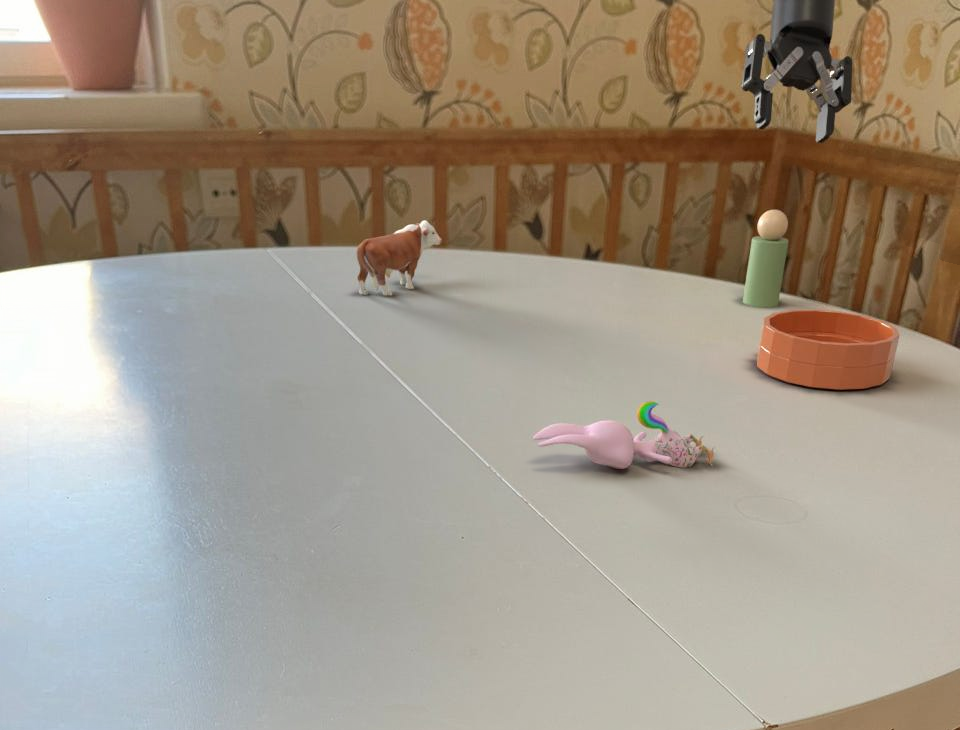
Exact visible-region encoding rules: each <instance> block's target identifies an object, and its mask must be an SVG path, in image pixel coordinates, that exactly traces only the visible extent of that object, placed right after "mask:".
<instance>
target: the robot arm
mask: <svg viewBox="0 0 960 730" xmlns="http://www.w3.org/2000/svg"><path fill="white" fill-rule="evenodd" d="M835 4H836V0H772V6H771V7H772V8H771V9H772V10H771V20H770V21H771V23H770V35H769V41H767V40H766V37H765V35H764V34H763V33H758V34H757V35H756V36H754V38H753V39H752V40H751V41H749V43H748V44H747V45H746V48H745V56H744V63H743V71H742V76H741V77H742V78H741V79H742V80H741V89H742V91H744V92H750V93H751V94H752V95H753V97H754V100H755V101H754V112H753V120H754V121H753V122H754V124H756V129H757V130H758V129H759V130H764V129H765V128H767V127H768V126H769V125H770V124H771V122H772V111H773V99H774V98H773V97H774V93H773V92H771V91H772V89H773V88H774V87H776V86H777V84H778V83H779V82H780V83H781V86H782V87H786V88H791V87H792V88H795V89H796V90H798V91H802V92H804V91H805V92H806V94H807V96H808V98H809V99H810V100H811V101H813V102H814V104H815V105H816V108H817V110H818V111H819V113H817V119H816V131H815V142H816V143H820V144H823V143H824V142H826V141H827V140H828V139H830V137H831V136H832V135H833V133H834V132H835V122H836V114H837V113H839V112H841V111H842V110H843V109H844V108H845V107H847V106H848V105H850V104H851V103H852V92H853V90H852V88H853V86H852V85H853V59H852V57H851V56H848V55H847V56H845V57H843V58H842V59H840V58H835V57H832V54H831V52H830V45H831V42H832V38H833V32H834V17H835V7H836V5H835ZM766 56H767V59H768V61H769V64H770V66H771V68H772V70H771V72H770V73H769V74H768V75H767V76H766V77H765V78H764V79H763V78H761V76H762V68H763V59H764V58H765V57H766ZM828 71H829V72H830V73H829V72H828ZM818 82H819V84H820V85H819V87H817V86H816V83H818Z"/></svg>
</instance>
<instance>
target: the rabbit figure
mask: <svg viewBox="0 0 960 730" xmlns="http://www.w3.org/2000/svg"><path fill="white" fill-rule="evenodd" d="M658 405H660V403H657V402H656V401H653V400H651V401H650V400H649V401H646V402H644V403H642V404H640V406H639V407H638V409H637V411H636V417H637V421H638V422H639V424H641V426H643V427H644V428H646V429H650V430H651V429H652V430H657V429H658V430H661V431H660V433H658V434H657V436H656V437H655V438H653V439H651V440H650V439H649V440H643V439H645V438H647V432H645V431H640V432H639V433H638V434H637V435H636V436H635V437H634V436H633V434H632V432H631V430H630V429H629V428H628V427H627V426H626V425H625V424H623V423H622V422H619V421H615V420H608V419H607V420H605V419H604V420H600V421H596V422H593V423H591V424H588V425H579V424H575V423H567V422H561V423H560V422H559V423H552V424H550V425H547V426H546V427H544V428H542V429H541V430H539V431H538V432H536V434H534V436H533V437H532V440H533V441H539V440H543V441H541V442H539V443H537V446H538V447H539V448H541V447H543V448H544V447H549V446H553V445H559V444H560V445H561V444H565V445H573V446H576V447H580V448H583V449H584V452H585V454H586V456H587V458H589V460H590V461H592V463H594V464H596V465H604V466H606V467H608V468H612V469H616V470H623V469H627V468H628V467H630V465H631V464H632V462H633V459H634V456H636V457H639V458H640V459H641V460H643V461H644V462H647V463H653V462H655V461H657V462H660V463H662V464H664V465H666V466H671V467H674V468H680V469H681V468H683V469H684V468H690V467H692V466H693V465H694V463H695V462H696V460H697V459H698V457H699V456H700V455H702V452H704V453H706V455H707V457H706V460H705V461H706V465H707V466H708V465H709V466H713V464H712V463H713V460H714V459H713V458H714V449H715V448H716V446H713V447H712V448H711V449H708V448H707V447H706V445H704V444H703V442H702V439H703V438H704V435H701V436H700V438H699V439H697V438H696V436H694V435H693V434H691V433H690V434H688V435H686V436H681V435H680V434H679V432H677V431H675V430H673V429H671V428H670V427H669V425H668V424H667V422H666V421H665V419H663V418H662V417H661V416H659V415H655V414H653V413H652V411H653V409H654V408H655V407H657V406H658ZM692 442H693V443H695V446H692V445H691V443H692Z"/></svg>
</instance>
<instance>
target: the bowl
mask: <svg viewBox="0 0 960 730" xmlns="http://www.w3.org/2000/svg"><path fill="white" fill-rule="evenodd" d="M900 336H901V335H900V333H899V330H898V328H897V327H896V326H893V325H892V324H890V323H889V322H886V321H885V320H881V319H877V318H874V317H872V316H871V317H870V316H867V315H864V314H859V313H852V312H847V311H839V310H828V309H827V310H826V309H816V308H815V309H813V308H812V309H788V310H782V311H778V312H773V313H771V314H769V315H767V316H765V317H764V318H763V320H762V327H761V333H760V338H759V344H758V345H759V346H758V350H757V358H756V367H757V368H758V369H759V370H761V371H762V372H763V373H764V374H766V375H768V376H770V377H773V378H775V379H778V380H781V381H783V382H786V383H790V384H794V385H800V386H804V387H809V388H816V389H829V390H839V391H840V390H865V389H869V388H872V387H877V386H882V385H883V384H884V383H886V382H887V381H888V380H890V378H891V375H892V370H893V366H894V362H895V357H896V353H897V350H898V349H897V348H898V344H899V340H900Z"/></svg>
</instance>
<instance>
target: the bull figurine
mask: <svg viewBox="0 0 960 730" xmlns="http://www.w3.org/2000/svg"><path fill="white" fill-rule="evenodd" d="M442 240H443V239H442V238H441V237H440V236H439V234H438V232H437V231H436V229H435V227H434V226H433V225H431V223H430V222H429V221H427V220H426V219H425V220H422V221H421V222H420V223H419V222H416V223H415V224H414V223H413V224H408V225H406V226H404V227H403V228H402V229H398V230H396V231H395V232H393V233H390V234H386V235H382V236H377V237H371V238H366V239H364V240H363V241H362V242H361V243H359V245H358V246H357V248H356V259H357V263H358V265H359V273H358V275H357V281H358V285H359V291H358V294H360V295H363V296H365V295H366V296H367V295H368V294H369V292H368V291H367V289H366V280H367V278H368V275H369V277H370V281H371V284H372V285H373V288H374V289H375V291H378V290H379V286H380V287H381V290H382V296H386V297H388V296H393V292H391V290H390V289H389V287H388V285H387V282H386V278H387V279H390V277H391V275H392V273H393V272H398V274H399V277H400V281H399V284H400V285H401V286H405V289H407V290H414V289H415V287H414V285H413V279H414V277H415V272H416V269H417V267H418V264H419V260H420V257H422V255H423V252H424V251H426V250H427V251H428V250H429V249H430V248H431V247H432V246H434V245H436V246H440V245H441V244H442ZM406 276H407V278H406Z"/></svg>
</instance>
